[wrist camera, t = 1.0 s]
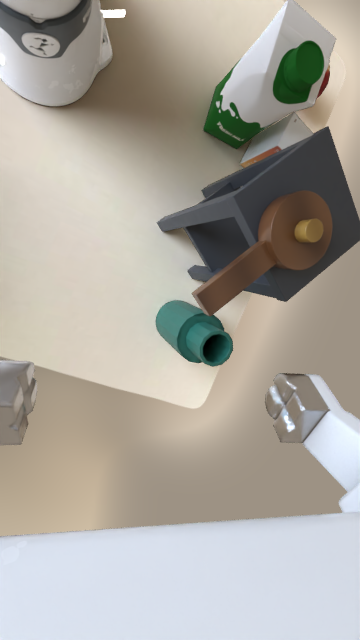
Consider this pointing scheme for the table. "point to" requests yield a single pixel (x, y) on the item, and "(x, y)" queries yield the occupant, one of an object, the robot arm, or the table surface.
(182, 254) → the table surface
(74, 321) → the table surface
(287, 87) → the milk carton
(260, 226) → the lid
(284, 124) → the small box
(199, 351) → the bottle
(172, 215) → the stand
